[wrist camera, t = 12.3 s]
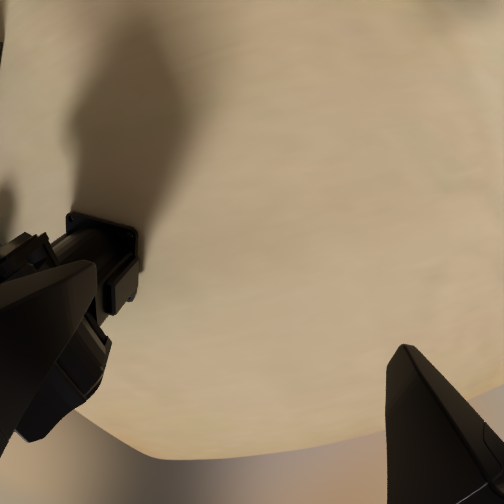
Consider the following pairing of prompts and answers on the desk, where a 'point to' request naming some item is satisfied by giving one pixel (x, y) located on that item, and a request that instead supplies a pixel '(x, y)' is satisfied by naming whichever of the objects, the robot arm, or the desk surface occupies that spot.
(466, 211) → the desk surface
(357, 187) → the desk surface
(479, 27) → the desk surface
